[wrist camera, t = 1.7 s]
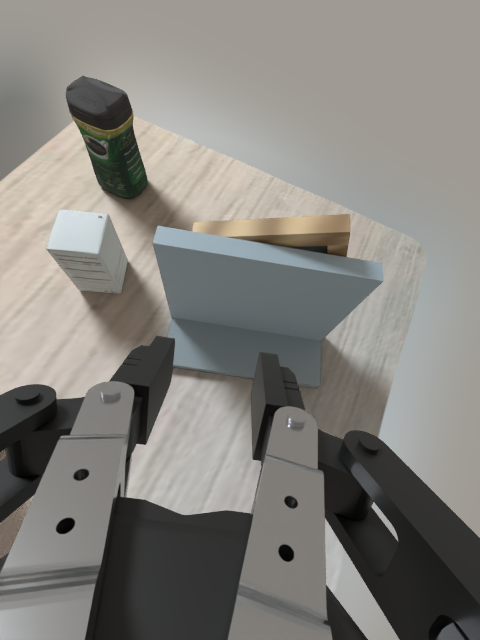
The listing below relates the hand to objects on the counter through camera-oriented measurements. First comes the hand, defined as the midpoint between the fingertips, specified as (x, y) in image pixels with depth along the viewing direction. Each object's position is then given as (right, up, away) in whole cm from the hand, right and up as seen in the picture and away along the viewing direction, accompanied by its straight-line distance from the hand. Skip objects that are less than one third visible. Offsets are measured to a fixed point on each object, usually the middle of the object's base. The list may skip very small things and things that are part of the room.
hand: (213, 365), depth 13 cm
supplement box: (-23, +10, +43) cm, 50 cm away
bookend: (+2, -3, +40) cm, 41 cm away
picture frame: (+7, +6, +36) cm, 37 cm away
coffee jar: (-23, +30, +52) cm, 65 cm away
